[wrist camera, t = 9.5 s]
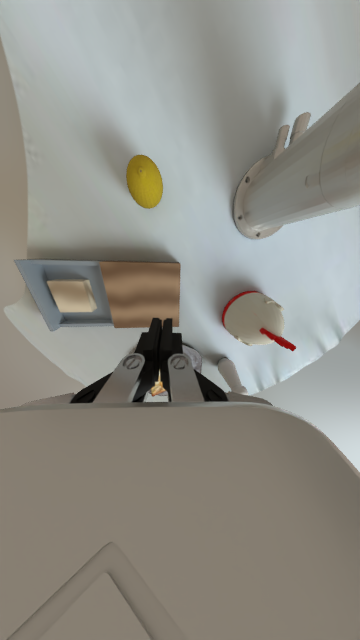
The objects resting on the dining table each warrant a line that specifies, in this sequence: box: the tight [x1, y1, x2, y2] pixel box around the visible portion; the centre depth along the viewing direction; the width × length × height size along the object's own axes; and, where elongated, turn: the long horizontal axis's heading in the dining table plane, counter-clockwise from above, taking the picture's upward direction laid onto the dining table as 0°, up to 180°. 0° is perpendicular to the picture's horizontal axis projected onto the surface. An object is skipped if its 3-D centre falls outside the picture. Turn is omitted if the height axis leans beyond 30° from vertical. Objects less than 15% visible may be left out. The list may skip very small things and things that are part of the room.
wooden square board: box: [99, 261, 180, 328], centre depth 31 cm, size 15×16×4 cm
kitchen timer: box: [222, 291, 296, 351], centre depth 31 cm, size 14×14×15 cm
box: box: [14, 259, 114, 331], centre depth 29 cm, size 15×14×5 cm
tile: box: [47, 279, 97, 312], centre depth 29 cm, size 7×7×2 cm
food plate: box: [148, 345, 202, 396], centre depth 44 cm, size 25×23×4 cm
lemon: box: [126, 155, 163, 209], centre depth 21 cm, size 6×6×8 cm
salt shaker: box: [218, 358, 248, 395], centre depth 40 cm, size 6×6×13 cm
